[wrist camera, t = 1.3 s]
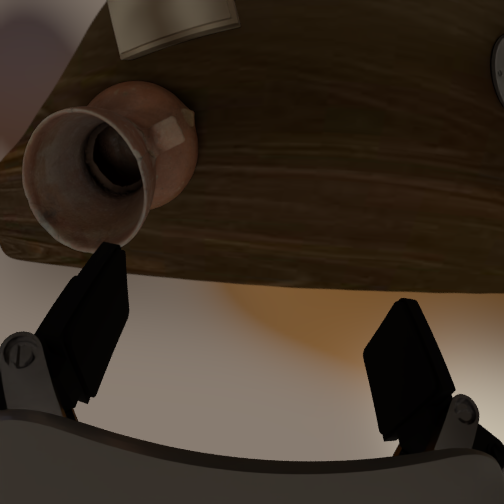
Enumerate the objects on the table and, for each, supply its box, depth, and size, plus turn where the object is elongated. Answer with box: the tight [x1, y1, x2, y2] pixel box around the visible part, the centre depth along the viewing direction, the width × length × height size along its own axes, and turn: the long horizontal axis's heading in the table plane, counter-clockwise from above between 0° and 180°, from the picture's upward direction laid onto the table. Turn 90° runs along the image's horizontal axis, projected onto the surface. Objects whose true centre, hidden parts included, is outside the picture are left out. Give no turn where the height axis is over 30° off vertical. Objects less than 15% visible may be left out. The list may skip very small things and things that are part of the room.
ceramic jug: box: [22, 81, 198, 253], centre depth 26 cm, size 18×14×14 cm
